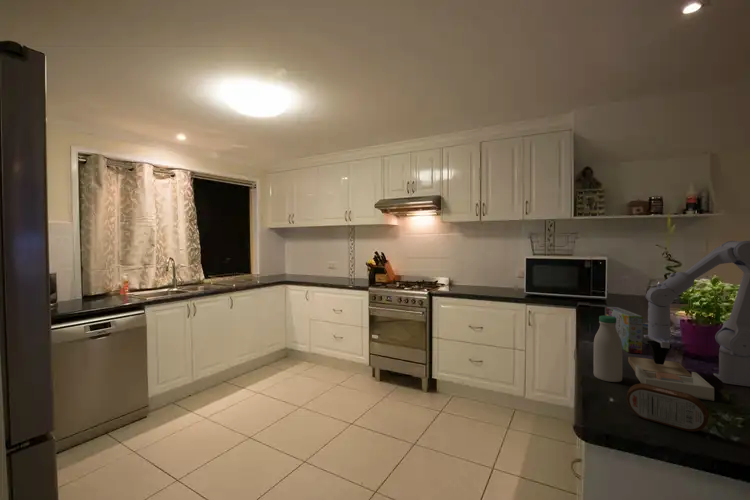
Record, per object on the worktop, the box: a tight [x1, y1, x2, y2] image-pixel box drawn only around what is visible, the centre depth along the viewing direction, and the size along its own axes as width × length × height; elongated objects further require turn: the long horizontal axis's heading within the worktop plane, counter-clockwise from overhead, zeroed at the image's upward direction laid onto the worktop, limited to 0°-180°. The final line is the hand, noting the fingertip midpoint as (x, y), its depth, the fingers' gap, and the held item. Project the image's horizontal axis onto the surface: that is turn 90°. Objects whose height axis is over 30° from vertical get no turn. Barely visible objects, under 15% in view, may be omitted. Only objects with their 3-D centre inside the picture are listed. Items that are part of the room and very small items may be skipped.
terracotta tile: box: [656, 372, 681, 380], centre depth 104 cm, size 5×5×2 cm
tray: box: [635, 365, 715, 402], centre depth 101 cm, size 15×13×4 cm
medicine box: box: [642, 321, 653, 345], centre depth 146 cm, size 8×4×9 cm, turn 120°
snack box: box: [605, 306, 644, 355], centre depth 142 cm, size 21×6×15 cm, turn 167°
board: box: [627, 355, 692, 377], centre depth 114 cm, size 14×14×2 cm
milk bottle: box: [593, 315, 623, 383], centre depth 108 cm, size 8×8×20 cm
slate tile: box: [661, 378, 684, 383], centre depth 99 cm, size 5×5×2 cm
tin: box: [626, 383, 710, 432], centre depth 81 cm, size 15×3×8 cm, turn 45°
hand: (659, 363), depth 113 cm, fingers closed
